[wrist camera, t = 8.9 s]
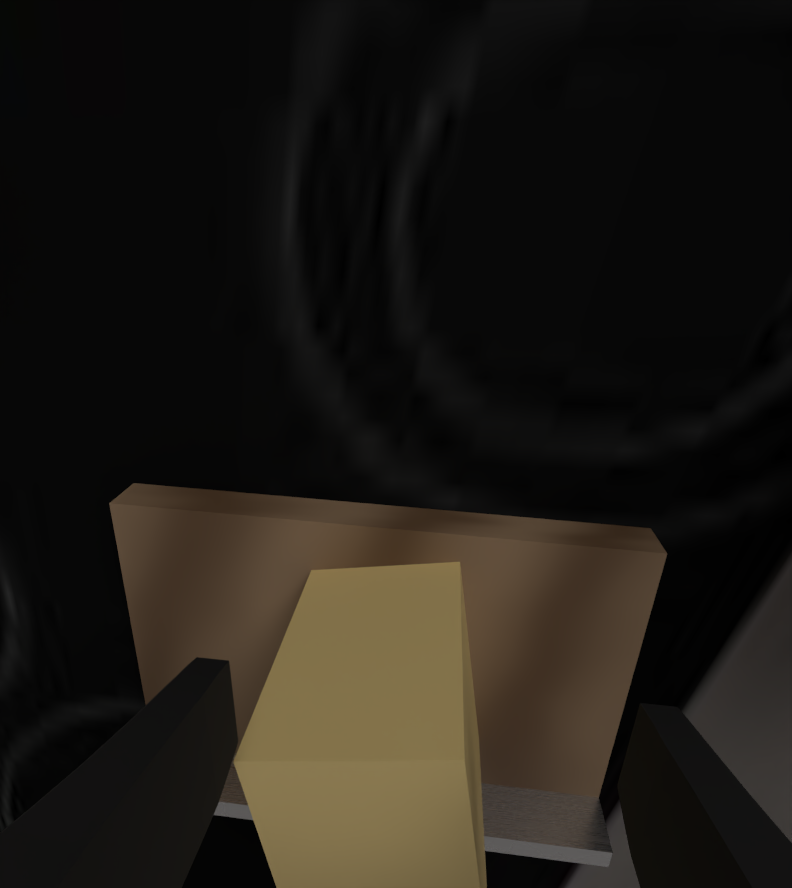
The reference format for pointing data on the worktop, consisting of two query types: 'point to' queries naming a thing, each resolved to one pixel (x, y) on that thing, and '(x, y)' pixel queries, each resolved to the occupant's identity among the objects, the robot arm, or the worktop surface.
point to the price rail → (507, 821)
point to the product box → (370, 736)
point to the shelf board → (405, 543)
